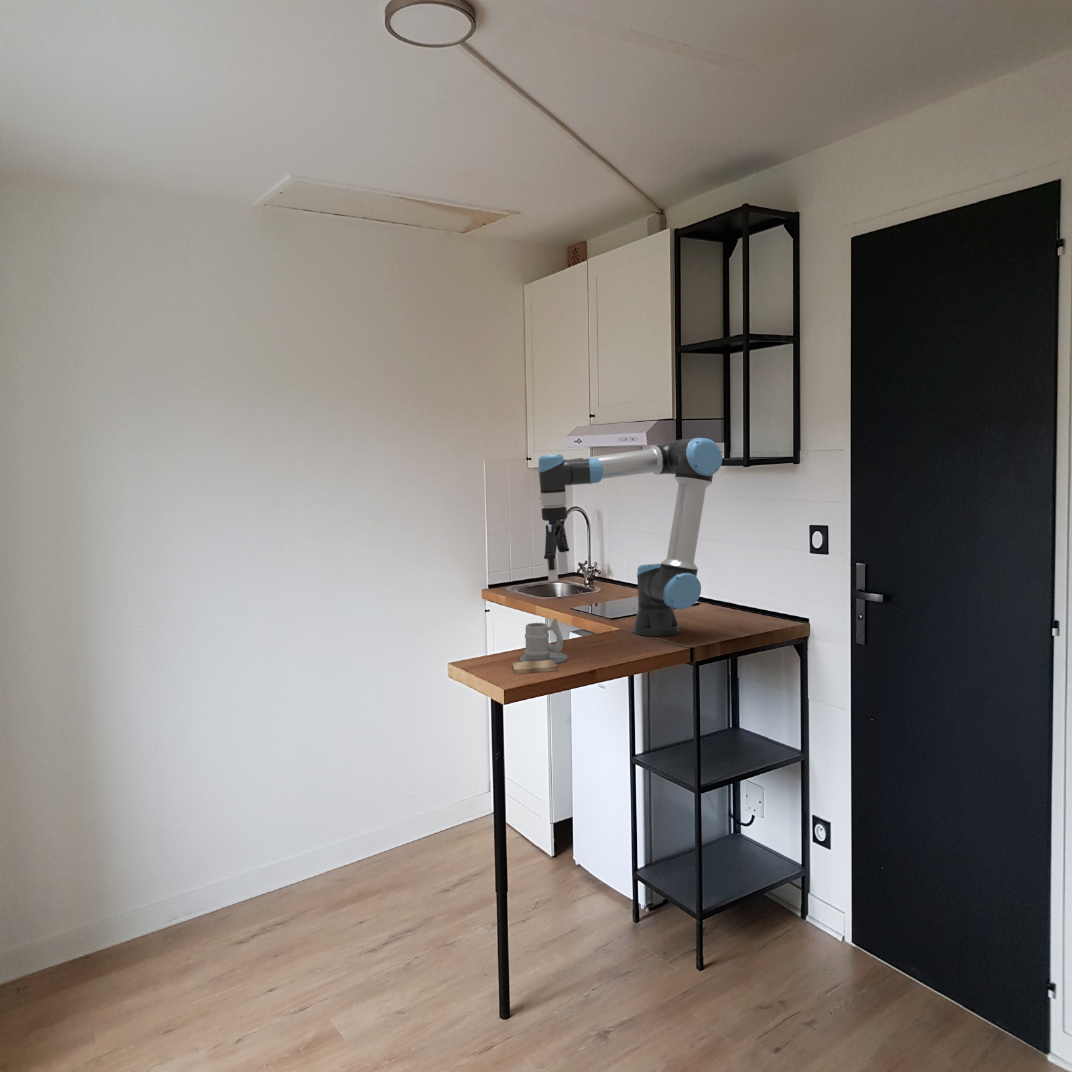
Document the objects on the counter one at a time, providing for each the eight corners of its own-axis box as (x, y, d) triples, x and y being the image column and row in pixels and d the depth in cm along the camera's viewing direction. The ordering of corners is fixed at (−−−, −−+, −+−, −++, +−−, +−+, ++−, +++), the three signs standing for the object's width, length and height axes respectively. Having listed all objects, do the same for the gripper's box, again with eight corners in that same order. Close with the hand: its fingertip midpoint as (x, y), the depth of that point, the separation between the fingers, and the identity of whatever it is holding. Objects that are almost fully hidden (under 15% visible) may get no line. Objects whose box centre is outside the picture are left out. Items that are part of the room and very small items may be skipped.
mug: (528, 654, 242) (527, 614, 241) (566, 655, 238) (565, 615, 237) (521, 660, 235) (519, 619, 233) (560, 661, 231) (558, 620, 230)
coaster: (563, 652, 245) (563, 650, 245) (571, 663, 231) (571, 661, 231) (517, 655, 243) (517, 653, 243) (522, 666, 229) (522, 664, 229)
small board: (553, 663, 232) (553, 659, 231) (557, 670, 224) (557, 666, 224) (512, 666, 230) (511, 662, 230) (514, 673, 222) (514, 669, 222)
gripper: (551, 503, 252) (555, 570, 255) (531, 510, 228) (536, 584, 231) (574, 502, 250) (579, 569, 253) (556, 509, 226) (561, 583, 229)
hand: (558, 576), depth 242 cm, fingers open, 13 cm apart
